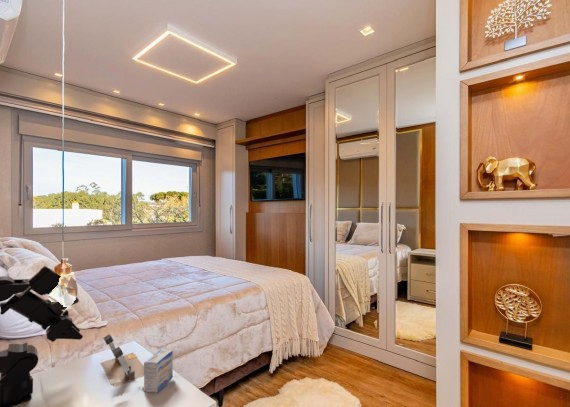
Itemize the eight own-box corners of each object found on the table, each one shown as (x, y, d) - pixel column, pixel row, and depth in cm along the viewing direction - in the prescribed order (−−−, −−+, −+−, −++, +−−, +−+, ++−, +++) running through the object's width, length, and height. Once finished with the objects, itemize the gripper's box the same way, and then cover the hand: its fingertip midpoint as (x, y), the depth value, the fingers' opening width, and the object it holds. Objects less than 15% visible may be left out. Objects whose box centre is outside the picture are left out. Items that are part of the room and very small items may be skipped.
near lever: (127, 378, 87) (114, 354, 85) (124, 374, 89) (111, 350, 87) (133, 374, 89) (121, 349, 86) (130, 370, 91) (118, 346, 89)
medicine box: (157, 393, 83) (157, 363, 83) (143, 391, 84) (143, 361, 84) (173, 378, 90) (173, 350, 91) (160, 376, 91) (160, 348, 92)
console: (112, 392, 83) (112, 380, 83) (99, 367, 96) (99, 357, 97) (150, 377, 90) (150, 366, 91) (133, 356, 104) (133, 346, 104)
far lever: (116, 363, 96) (105, 340, 94) (114, 360, 98) (103, 338, 96) (123, 359, 97) (111, 336, 95) (120, 355, 99) (109, 334, 97)
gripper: (63, 290, 80) (108, 320, 88) (56, 279, 94) (95, 305, 101) (24, 327, 75) (76, 355, 82) (23, 309, 89) (67, 334, 96)
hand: (80, 334), depth 91 cm, fingers open, 6 cm apart
